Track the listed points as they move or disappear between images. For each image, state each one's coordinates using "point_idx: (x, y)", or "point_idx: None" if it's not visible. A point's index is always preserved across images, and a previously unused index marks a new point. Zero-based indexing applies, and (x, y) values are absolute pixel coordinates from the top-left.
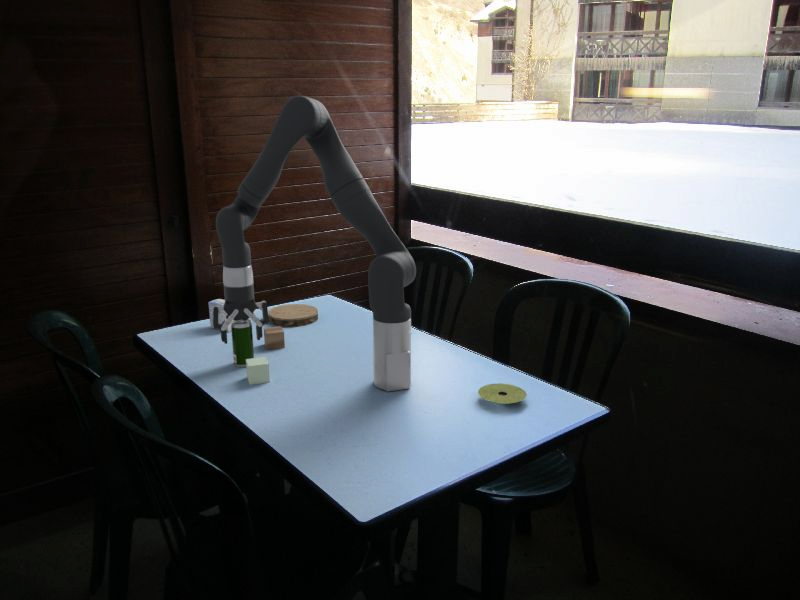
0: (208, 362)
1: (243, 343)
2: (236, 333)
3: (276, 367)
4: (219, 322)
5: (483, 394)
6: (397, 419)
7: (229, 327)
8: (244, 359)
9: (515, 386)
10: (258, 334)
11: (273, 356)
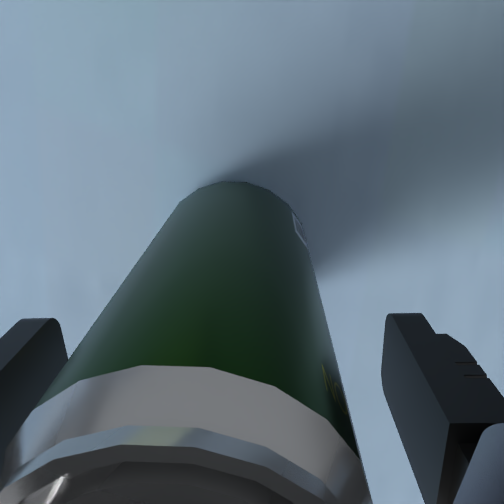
0: (457, 337)
1: (211, 243)
2: (290, 334)
3: (3, 102)
4: None
5: None
6: None
7: None
8: (229, 191)
9: None
10: (2, 352)
11: (40, 314)
